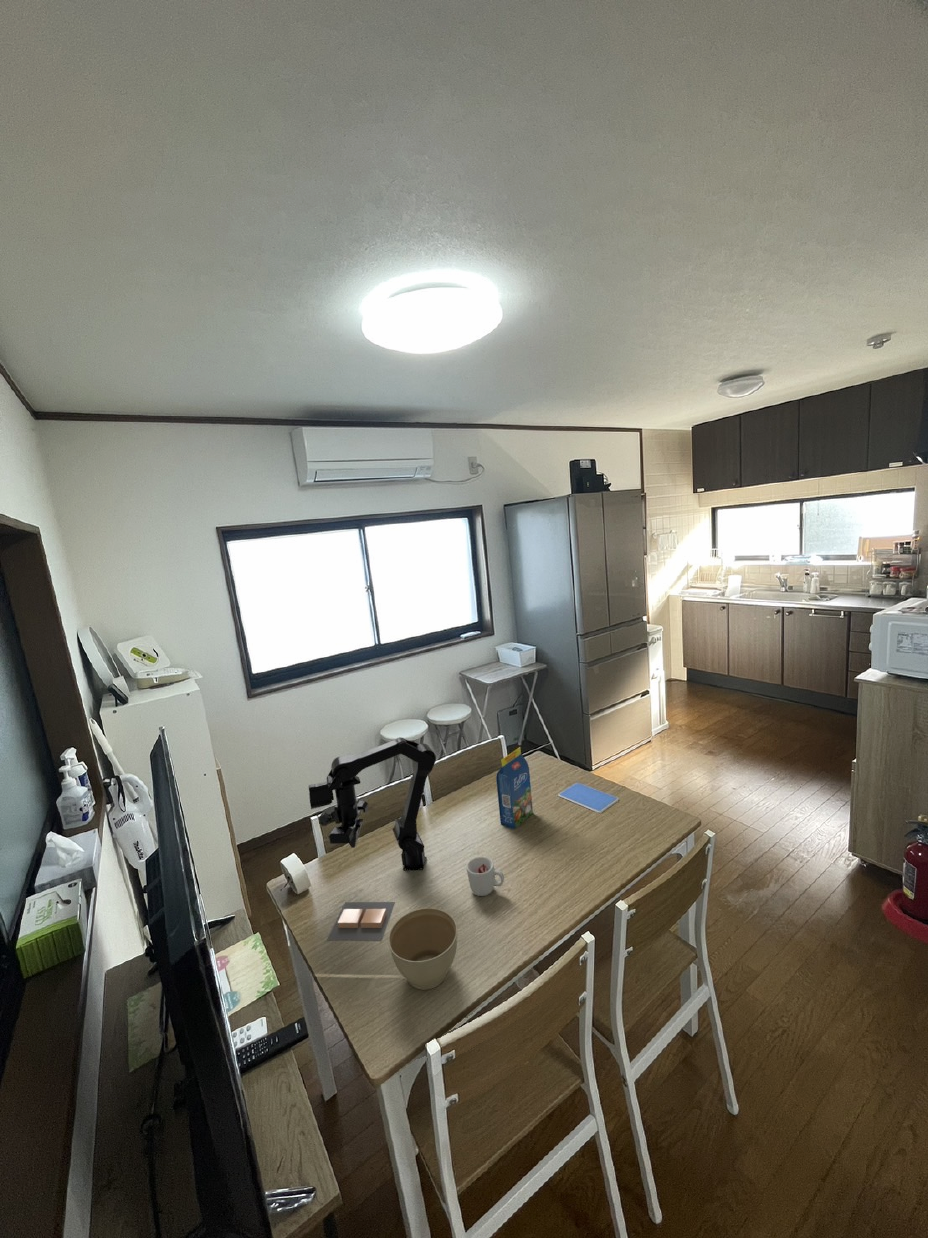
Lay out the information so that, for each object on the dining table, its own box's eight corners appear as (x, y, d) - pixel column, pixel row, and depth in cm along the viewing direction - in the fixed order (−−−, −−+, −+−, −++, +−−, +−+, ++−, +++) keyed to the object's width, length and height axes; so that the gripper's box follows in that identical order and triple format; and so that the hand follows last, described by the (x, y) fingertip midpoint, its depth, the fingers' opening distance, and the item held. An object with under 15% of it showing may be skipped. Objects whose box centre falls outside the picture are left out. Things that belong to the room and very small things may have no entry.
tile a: (385, 909, 139) (380, 922, 134) (386, 914, 139) (381, 928, 134) (366, 909, 139) (360, 922, 135) (367, 914, 140) (361, 928, 135)
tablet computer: (620, 800, 186) (619, 797, 186) (600, 815, 178) (599, 811, 178) (577, 784, 201) (577, 781, 200) (557, 797, 193) (556, 794, 192)
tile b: (363, 909, 140) (357, 922, 135) (363, 914, 140) (358, 928, 135) (344, 909, 140) (337, 922, 135) (345, 914, 141) (338, 928, 136)
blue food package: (533, 813, 183) (527, 748, 179) (515, 829, 174) (508, 761, 170) (518, 808, 187) (513, 745, 183) (500, 824, 178) (493, 758, 174)
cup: (508, 884, 147) (506, 859, 146) (501, 903, 139) (499, 877, 138) (473, 879, 150) (471, 855, 149) (465, 897, 143) (462, 872, 142)
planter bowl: (405, 1016, 109) (399, 973, 107) (386, 962, 124) (380, 923, 122) (472, 984, 115) (468, 942, 113) (446, 936, 130) (442, 899, 128)
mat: (395, 903, 144) (395, 902, 144) (381, 942, 130) (381, 940, 130) (345, 903, 146) (345, 902, 146) (326, 942, 132) (326, 940, 132)
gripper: (332, 785, 160) (339, 829, 163) (307, 817, 142) (315, 867, 144) (366, 783, 159) (372, 829, 161) (345, 816, 140) (352, 867, 143)
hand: (353, 847), depth 152 cm, fingers closed
